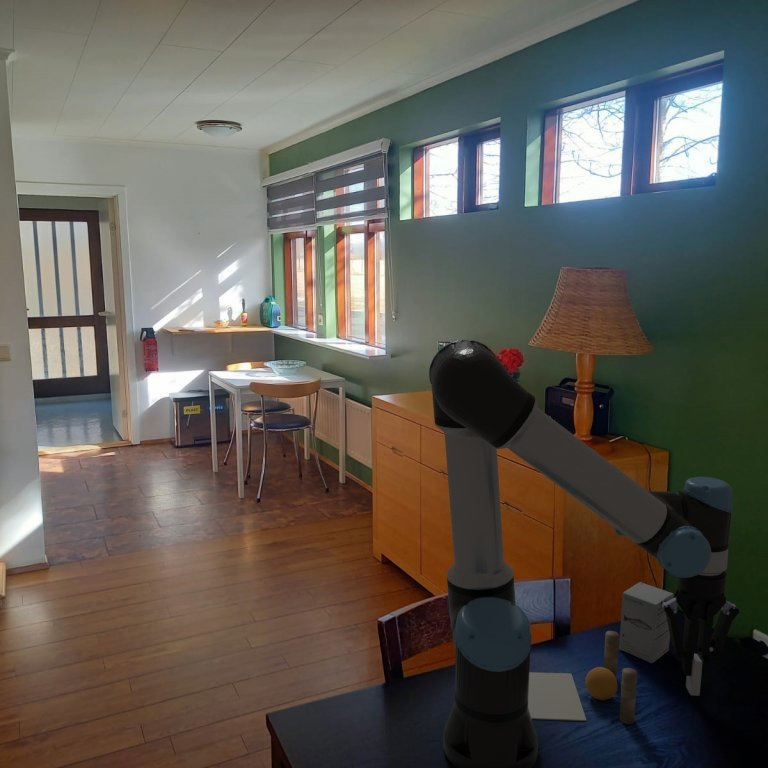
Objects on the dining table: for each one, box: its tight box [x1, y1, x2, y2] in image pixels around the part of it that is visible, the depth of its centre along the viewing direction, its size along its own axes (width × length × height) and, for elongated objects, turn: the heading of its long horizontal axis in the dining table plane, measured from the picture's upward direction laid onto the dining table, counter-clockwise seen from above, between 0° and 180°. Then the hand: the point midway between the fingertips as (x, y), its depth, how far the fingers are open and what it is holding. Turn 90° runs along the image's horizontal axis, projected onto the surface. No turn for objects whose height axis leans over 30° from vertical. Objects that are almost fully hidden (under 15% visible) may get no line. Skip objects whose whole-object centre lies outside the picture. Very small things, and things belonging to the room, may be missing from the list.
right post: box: [619, 667, 638, 725], centre depth 126 cm, size 2×2×9 cm
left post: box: [603, 630, 620, 679], centre depth 138 cm, size 2×2×9 cm
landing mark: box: [528, 671, 587, 722], centre depth 134 cm, size 14×14×1 cm
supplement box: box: [618, 581, 675, 664], centre depth 148 cm, size 7×7×13 cm
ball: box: [585, 666, 618, 701], centre depth 133 cm, size 6×6×6 cm
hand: (692, 690), depth 132 cm, fingers closed
